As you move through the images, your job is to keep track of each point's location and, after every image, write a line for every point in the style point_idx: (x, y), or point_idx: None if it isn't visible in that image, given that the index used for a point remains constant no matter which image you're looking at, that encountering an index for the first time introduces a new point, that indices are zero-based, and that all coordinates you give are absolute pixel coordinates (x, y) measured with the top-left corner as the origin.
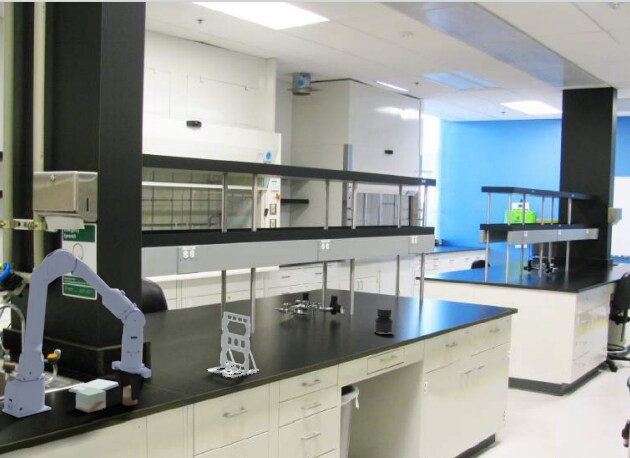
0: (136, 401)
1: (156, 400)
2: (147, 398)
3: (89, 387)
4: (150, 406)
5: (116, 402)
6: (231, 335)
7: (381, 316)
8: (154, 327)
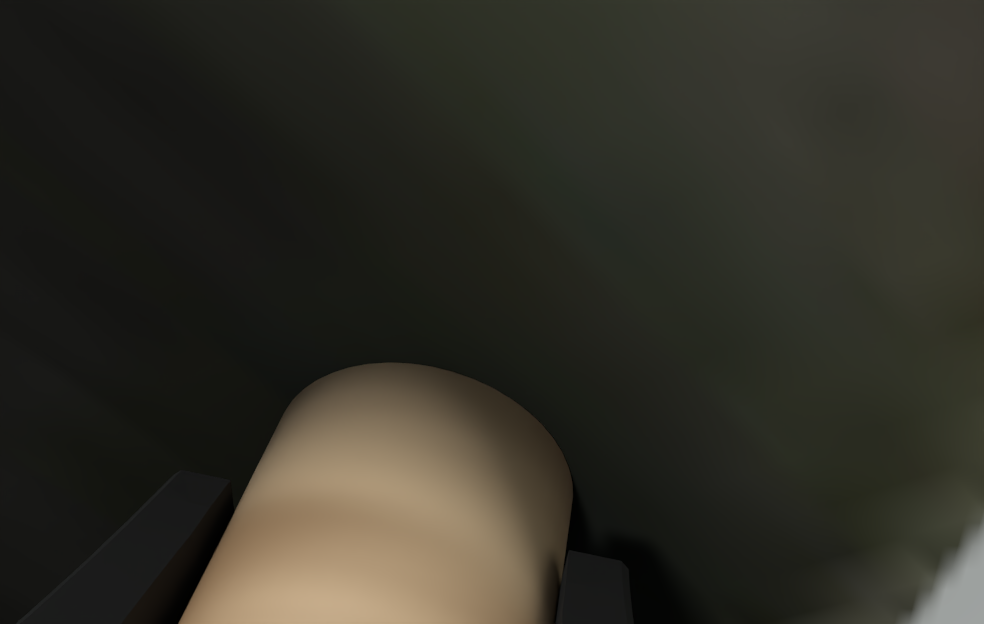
0: (562, 509)
1: (862, 30)
2: (477, 20)
3: None
4: (979, 480)
5: None
6: None
7: None
8: None
